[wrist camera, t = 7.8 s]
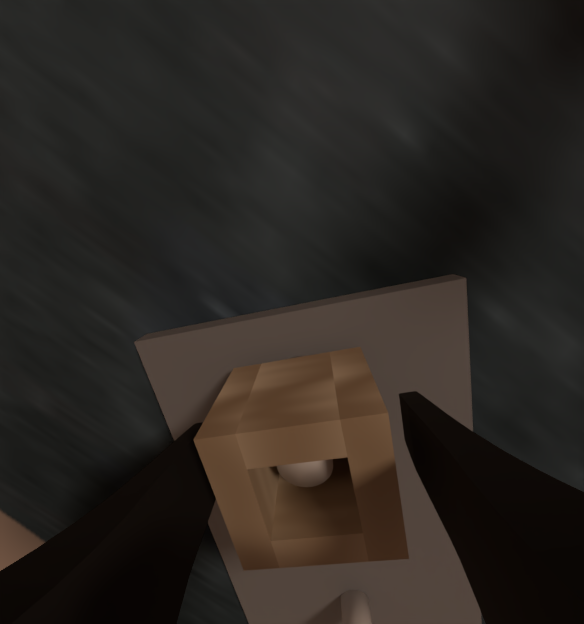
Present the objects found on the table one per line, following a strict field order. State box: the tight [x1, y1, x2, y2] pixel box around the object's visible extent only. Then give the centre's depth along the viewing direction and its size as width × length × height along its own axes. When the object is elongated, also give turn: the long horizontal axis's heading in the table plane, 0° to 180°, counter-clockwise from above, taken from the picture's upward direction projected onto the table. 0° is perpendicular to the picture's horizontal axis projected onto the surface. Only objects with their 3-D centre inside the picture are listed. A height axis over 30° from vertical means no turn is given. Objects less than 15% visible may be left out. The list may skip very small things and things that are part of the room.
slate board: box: [134, 274, 481, 624], centre depth 13 cm, size 14×22×5 cm, turn 12°
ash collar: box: [194, 347, 409, 571], centre depth 10 cm, size 5×5×4 cm
